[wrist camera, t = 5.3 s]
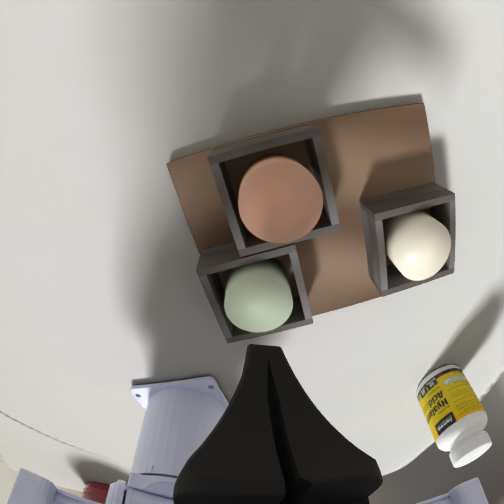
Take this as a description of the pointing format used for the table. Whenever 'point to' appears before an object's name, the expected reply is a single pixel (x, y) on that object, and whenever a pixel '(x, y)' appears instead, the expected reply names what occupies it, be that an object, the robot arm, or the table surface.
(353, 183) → the button panel
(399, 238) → the cream button
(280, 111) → the table surface
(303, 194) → the terracotta button
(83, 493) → the canister
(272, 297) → the sage button
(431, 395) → the supplement bottle
